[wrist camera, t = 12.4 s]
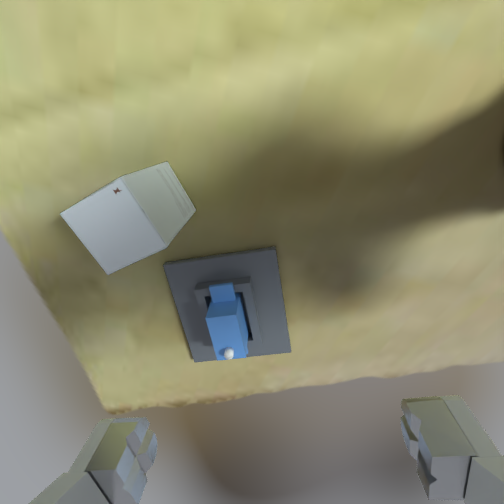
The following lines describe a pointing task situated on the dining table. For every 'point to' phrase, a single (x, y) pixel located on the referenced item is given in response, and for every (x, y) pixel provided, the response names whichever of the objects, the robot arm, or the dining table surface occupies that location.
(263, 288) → the plate
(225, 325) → the servo block
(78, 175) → the dining table surface
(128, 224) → the supplement box
